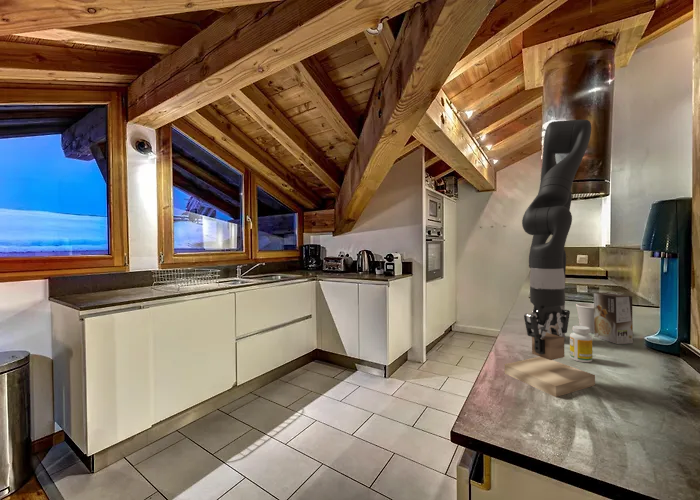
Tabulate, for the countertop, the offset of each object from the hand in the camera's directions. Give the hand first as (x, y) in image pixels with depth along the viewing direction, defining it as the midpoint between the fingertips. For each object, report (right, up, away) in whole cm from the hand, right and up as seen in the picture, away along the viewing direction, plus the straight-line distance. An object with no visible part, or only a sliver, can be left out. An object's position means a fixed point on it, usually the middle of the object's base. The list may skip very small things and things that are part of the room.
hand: (547, 351), depth 79 cm
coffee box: (+41, -6, +29) cm, 51 cm away
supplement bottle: (+18, -7, +12) cm, 23 cm away
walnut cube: (0, -1, 0) cm, 1 cm away
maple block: (0, -8, 0) cm, 8 cm away
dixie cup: (+42, -5, +40) cm, 58 cm away
